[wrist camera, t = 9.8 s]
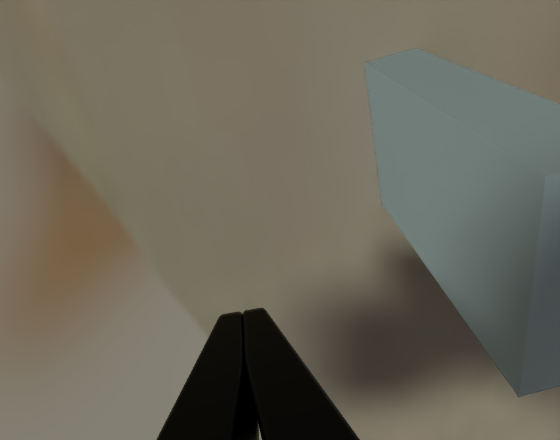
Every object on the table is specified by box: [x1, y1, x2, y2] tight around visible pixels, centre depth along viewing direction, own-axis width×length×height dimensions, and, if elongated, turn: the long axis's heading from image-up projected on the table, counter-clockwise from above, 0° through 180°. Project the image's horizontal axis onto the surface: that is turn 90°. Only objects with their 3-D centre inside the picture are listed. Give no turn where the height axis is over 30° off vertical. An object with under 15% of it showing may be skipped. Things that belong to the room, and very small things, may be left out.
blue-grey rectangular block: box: [365, 48, 560, 397], centre depth 10 cm, size 5×2×8 cm, turn 14°
